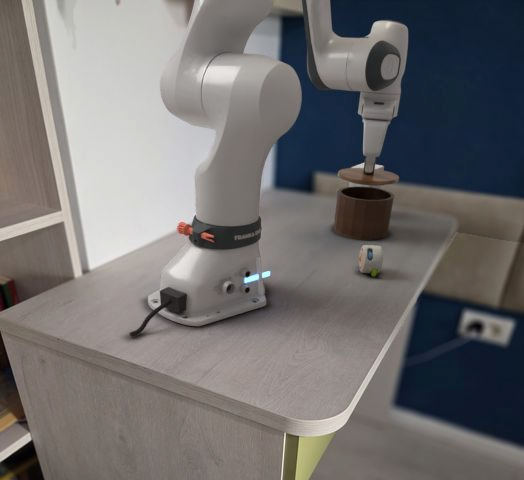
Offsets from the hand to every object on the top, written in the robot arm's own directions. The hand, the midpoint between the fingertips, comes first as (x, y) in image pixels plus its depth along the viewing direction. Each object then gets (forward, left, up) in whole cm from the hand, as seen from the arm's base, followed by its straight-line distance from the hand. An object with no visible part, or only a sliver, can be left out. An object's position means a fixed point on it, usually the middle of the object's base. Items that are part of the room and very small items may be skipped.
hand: (368, 170), depth 120 cm
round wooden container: (0, 0, -15) cm, 15 cm away
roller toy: (-22, -16, -15) cm, 31 cm away
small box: (+13, +8, -15) cm, 22 cm away
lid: (0, 0, -2) cm, 2 cm away
